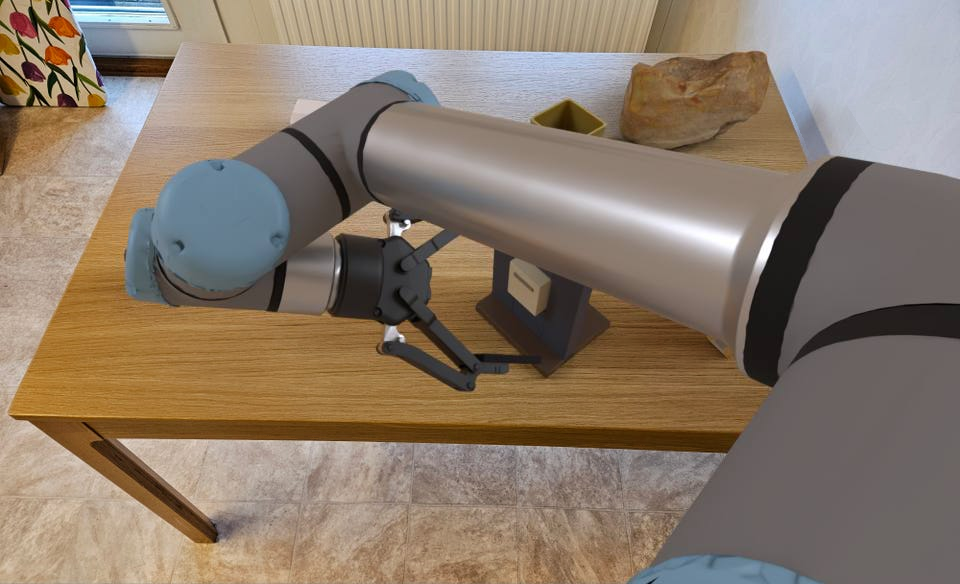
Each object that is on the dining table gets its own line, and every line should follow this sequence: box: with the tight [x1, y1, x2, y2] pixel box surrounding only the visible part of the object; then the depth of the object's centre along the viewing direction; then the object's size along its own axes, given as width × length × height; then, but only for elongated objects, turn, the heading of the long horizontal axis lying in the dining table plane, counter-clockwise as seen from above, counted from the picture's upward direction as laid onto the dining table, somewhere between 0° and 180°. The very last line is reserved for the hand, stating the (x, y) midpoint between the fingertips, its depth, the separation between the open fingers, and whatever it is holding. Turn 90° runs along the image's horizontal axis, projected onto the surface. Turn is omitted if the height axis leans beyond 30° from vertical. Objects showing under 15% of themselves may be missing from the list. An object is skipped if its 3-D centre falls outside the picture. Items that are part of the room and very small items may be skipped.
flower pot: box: [529, 97, 608, 138], centre depth 95 cm, size 9×9×9 cm
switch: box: [508, 258, 552, 316], centre depth 70 cm, size 2×5×6 cm, turn 41°
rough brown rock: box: [618, 50, 771, 150], centre depth 100 cm, size 23×17×15 cm
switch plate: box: [474, 249, 611, 380], centre depth 73 cm, size 12×14×20 cm
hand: (535, 296), depth 62 cm, fingers open, 13 cm apart
